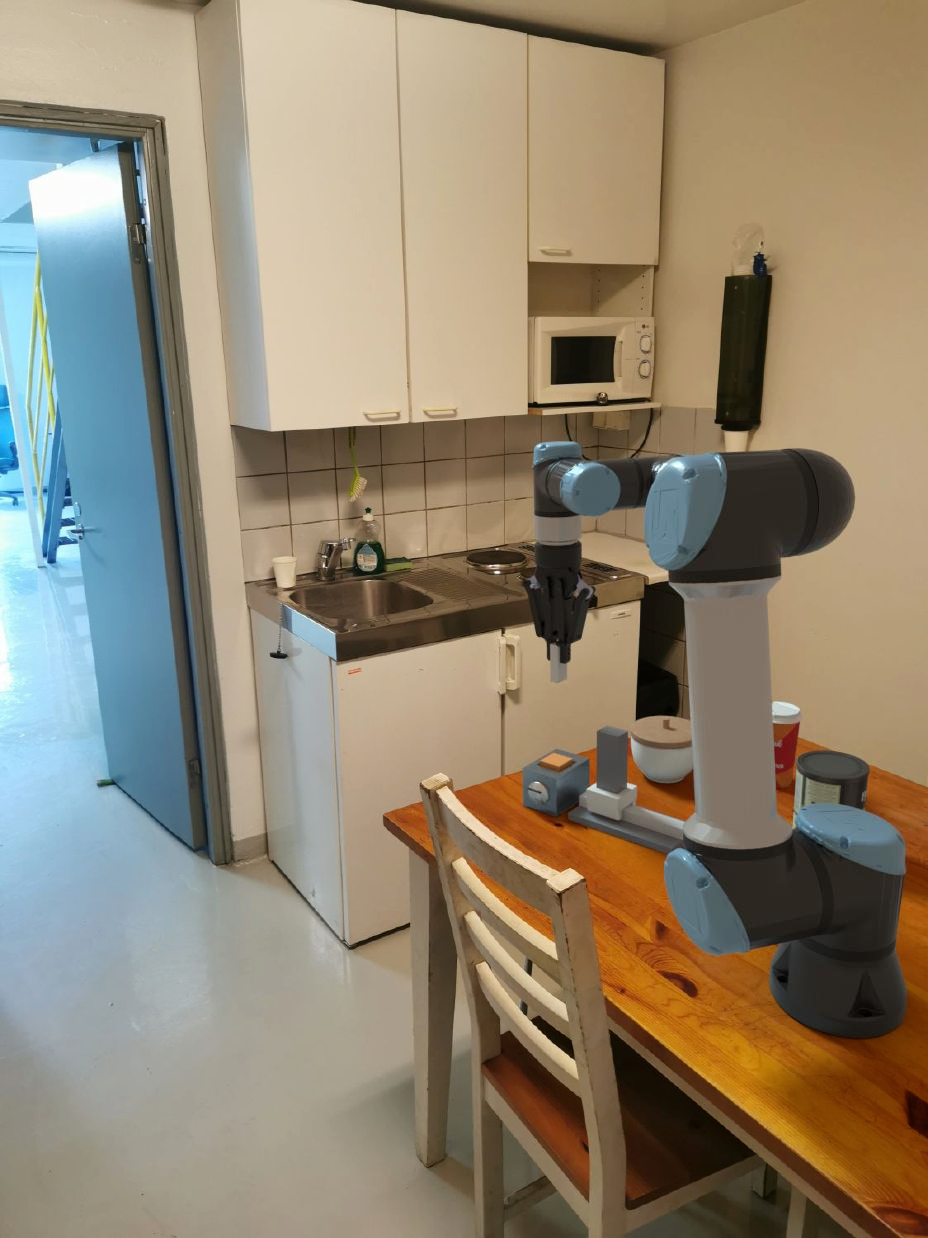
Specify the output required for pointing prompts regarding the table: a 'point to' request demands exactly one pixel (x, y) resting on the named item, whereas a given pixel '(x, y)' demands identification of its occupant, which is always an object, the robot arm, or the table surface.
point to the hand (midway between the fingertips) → (558, 680)
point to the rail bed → (634, 826)
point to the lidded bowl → (662, 747)
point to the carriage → (611, 775)
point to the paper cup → (785, 741)
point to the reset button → (556, 762)
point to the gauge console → (555, 784)
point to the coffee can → (830, 780)
